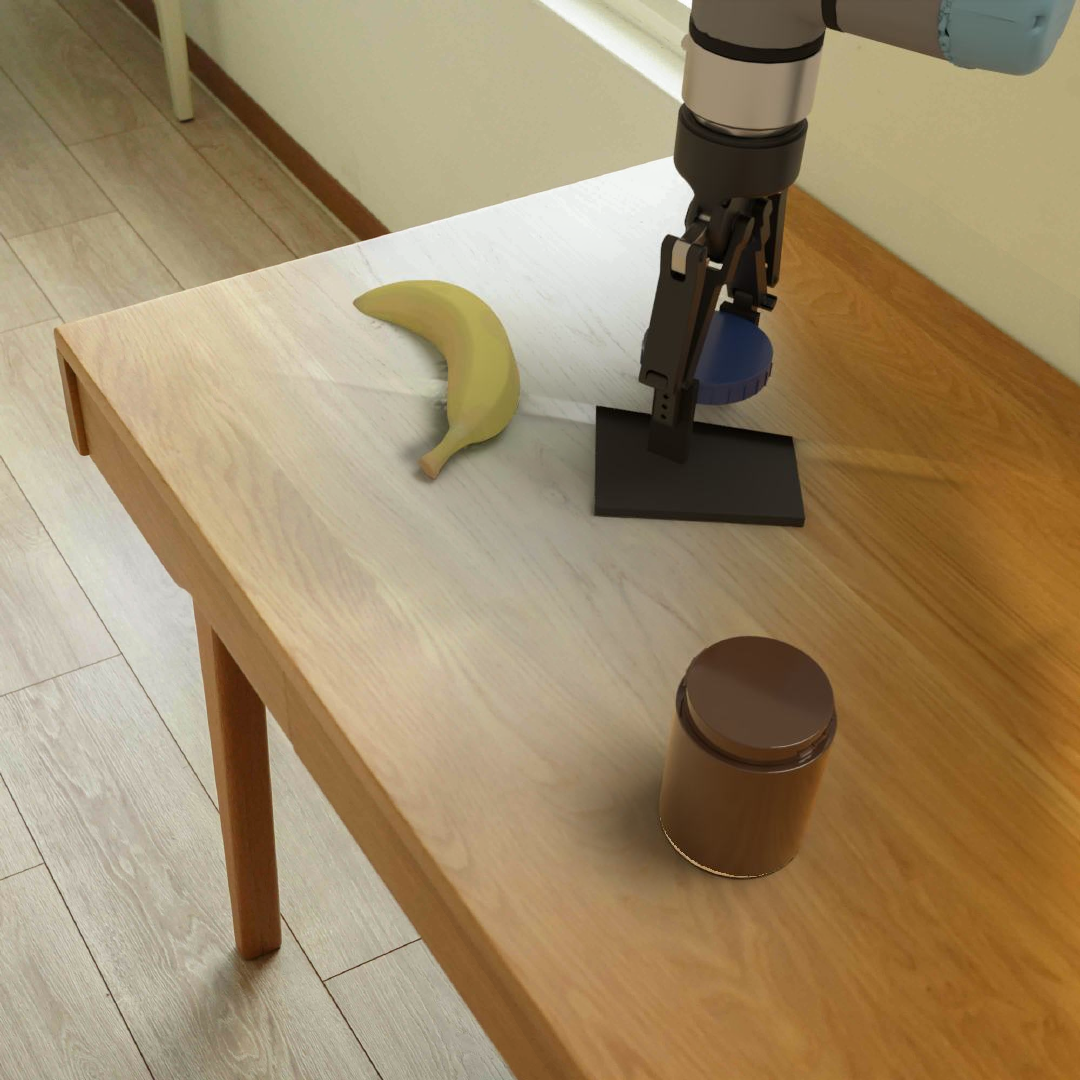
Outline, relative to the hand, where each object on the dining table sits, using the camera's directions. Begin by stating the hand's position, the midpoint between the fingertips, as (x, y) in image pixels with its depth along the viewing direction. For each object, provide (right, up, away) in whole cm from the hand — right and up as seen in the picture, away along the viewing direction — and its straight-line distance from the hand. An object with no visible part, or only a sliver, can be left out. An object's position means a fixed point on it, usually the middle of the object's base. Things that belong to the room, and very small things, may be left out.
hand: (698, 419), depth 93 cm
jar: (-1, -23, -20) cm, 31 cm away
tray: (0, -2, +2) cm, 3 cm away
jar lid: (0, +4, -4) cm, 6 cm away
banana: (-19, +2, +6) cm, 20 cm away
